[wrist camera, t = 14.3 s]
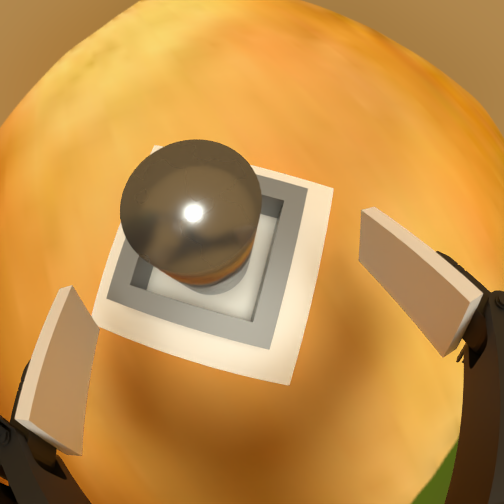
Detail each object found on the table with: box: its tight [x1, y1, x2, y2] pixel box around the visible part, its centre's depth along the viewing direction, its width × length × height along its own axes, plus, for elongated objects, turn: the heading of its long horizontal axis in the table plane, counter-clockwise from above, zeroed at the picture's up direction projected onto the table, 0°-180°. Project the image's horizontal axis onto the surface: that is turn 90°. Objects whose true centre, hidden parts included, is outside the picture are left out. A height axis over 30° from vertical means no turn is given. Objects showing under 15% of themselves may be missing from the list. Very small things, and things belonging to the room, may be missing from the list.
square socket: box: [91, 145, 334, 385], centre depth 17 cm, size 14×14×4 cm
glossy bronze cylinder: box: [120, 140, 262, 295], centre depth 14 cm, size 5×5×9 cm
